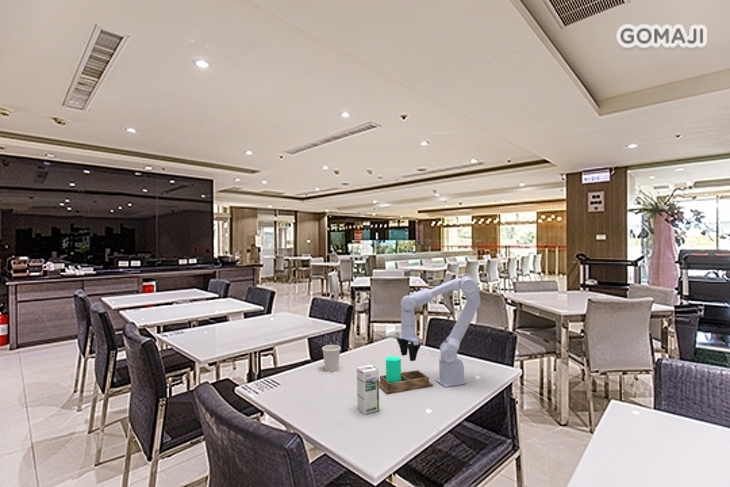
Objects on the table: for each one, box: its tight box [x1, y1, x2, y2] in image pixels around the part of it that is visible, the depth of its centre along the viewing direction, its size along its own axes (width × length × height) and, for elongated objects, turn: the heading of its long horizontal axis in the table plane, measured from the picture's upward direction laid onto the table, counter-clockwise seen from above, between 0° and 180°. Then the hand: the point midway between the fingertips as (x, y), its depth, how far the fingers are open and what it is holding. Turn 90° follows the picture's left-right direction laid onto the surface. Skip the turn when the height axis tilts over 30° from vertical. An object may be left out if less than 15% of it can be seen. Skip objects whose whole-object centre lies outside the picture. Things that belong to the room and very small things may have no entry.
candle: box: [385, 355, 402, 383], centre depth 146 cm, size 6×6×12 cm
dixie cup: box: [321, 344, 341, 373], centre depth 167 cm, size 8×8×10 cm
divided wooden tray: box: [379, 369, 434, 395], centre depth 148 cm, size 20×10×4 cm, turn 111°
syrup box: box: [356, 364, 380, 415], centre depth 127 cm, size 6×6×14 cm
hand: (408, 357), depth 153 cm, fingers open, 7 cm apart
